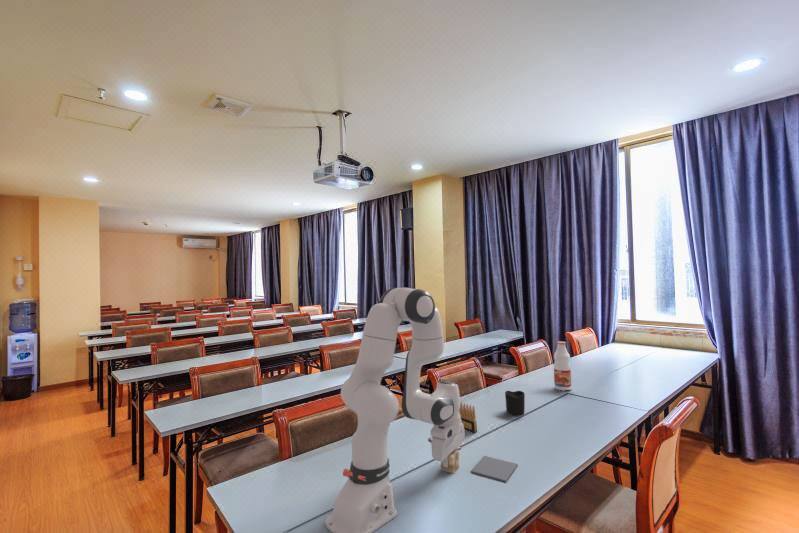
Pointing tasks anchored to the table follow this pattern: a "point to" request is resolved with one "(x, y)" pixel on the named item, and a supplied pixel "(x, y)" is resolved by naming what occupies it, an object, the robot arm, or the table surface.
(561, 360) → the fruit juice
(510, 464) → the mat
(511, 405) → the pen holder
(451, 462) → the maple block
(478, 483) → the table surface
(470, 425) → the ammunition clip
